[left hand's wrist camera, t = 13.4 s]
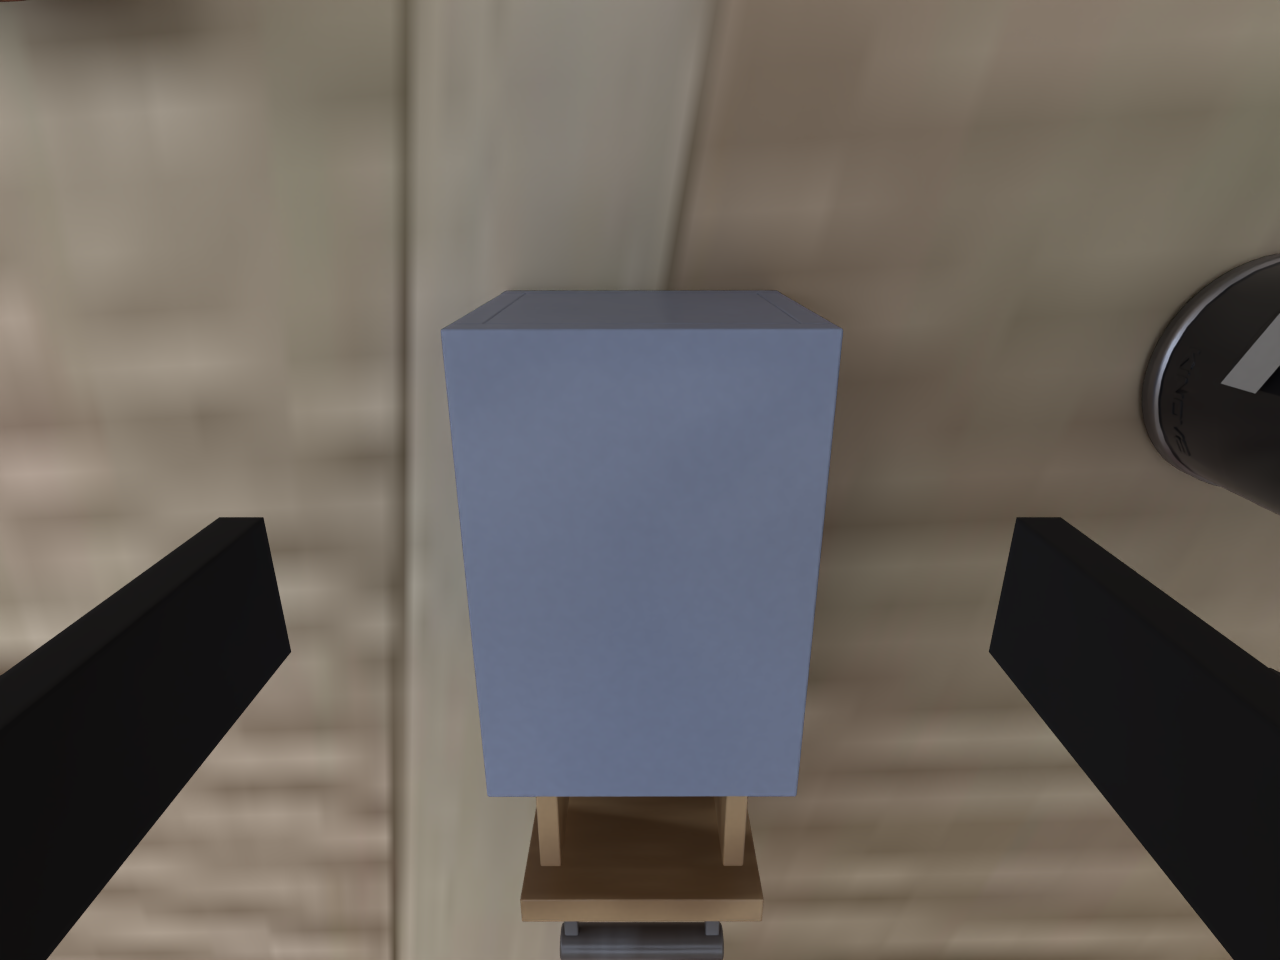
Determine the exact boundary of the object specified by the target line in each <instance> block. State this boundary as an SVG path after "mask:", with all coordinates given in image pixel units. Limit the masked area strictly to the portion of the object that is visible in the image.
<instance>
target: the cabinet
mask: <svg viewBox="0 0 1280 960" xmlns="http://www.w3.org/2000/svg"><path fill="white" fill-rule="evenodd" d="M842 337H843V329H842V328H840V327H838V326H837V325H835V324H833V323H831V322H829V321H828V320H826V319H824V318H823V317H821V316H819V315H817V314H816V313H814V312H812V311H810V310H809V309H807V308H805V307H804V306H802V305H800V304H798V303H797V302H795V301H793V300H791V299H790V298H788V297H786V296H785V295H783V294H781V293H780V292H778V291H776V290H765V291H505V292H503V293H502V294H500V295H499V296H497V297H495V298H494V299H492V300H490V301H489V302H487V303H485V304H484V305H482V306H480V307H479V308H477V309H475V310H474V311H472V312H470V313H468V314H467V315H465V316H463V317H462V318H460V319H458V320H457V321H455V322H453V323H452V324H450V325H448V326H446V327H445V328H443V329H441V338H442V348H443V358H444V368H445V378H446V387H447V397H448V407H449V417H450V427H451V437H452V447H453V457H454V467H455V477H456V487H457V497H458V507H459V517H460V527H461V536H462V546H463V556H464V566H465V576H466V586H467V596H468V606H469V616H470V626H471V636H472V646H473V656H474V666H475V676H476V685H477V695H478V705H479V715H480V725H481V735H482V745H483V755H484V765H485V775H486V785H487V795H488V796H489V797H621V796H796V794H797V785H798V775H799V765H800V755H801V745H802V735H803V725H804V715H805V705H806V695H807V685H808V675H809V665H810V655H811V645H812V636H813V626H814V616H815V606H816V596H817V586H818V576H819V566H820V556H821V546H822V536H823V526H824V516H825V506H826V496H827V486H828V476H829V466H830V456H831V446H832V436H833V427H834V417H835V407H836V397H837V387H838V377H839V367H840V357H841V347H842Z"/></svg>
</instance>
